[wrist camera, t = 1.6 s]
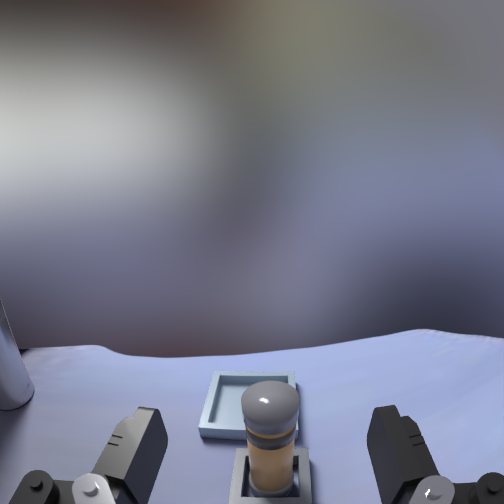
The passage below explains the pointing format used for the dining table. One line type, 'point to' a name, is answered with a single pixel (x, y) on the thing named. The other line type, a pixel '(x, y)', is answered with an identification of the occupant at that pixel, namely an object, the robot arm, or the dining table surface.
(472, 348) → the dining table surface
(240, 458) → the socket block
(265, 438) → the grey capped cylinder
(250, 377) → the parts tray
